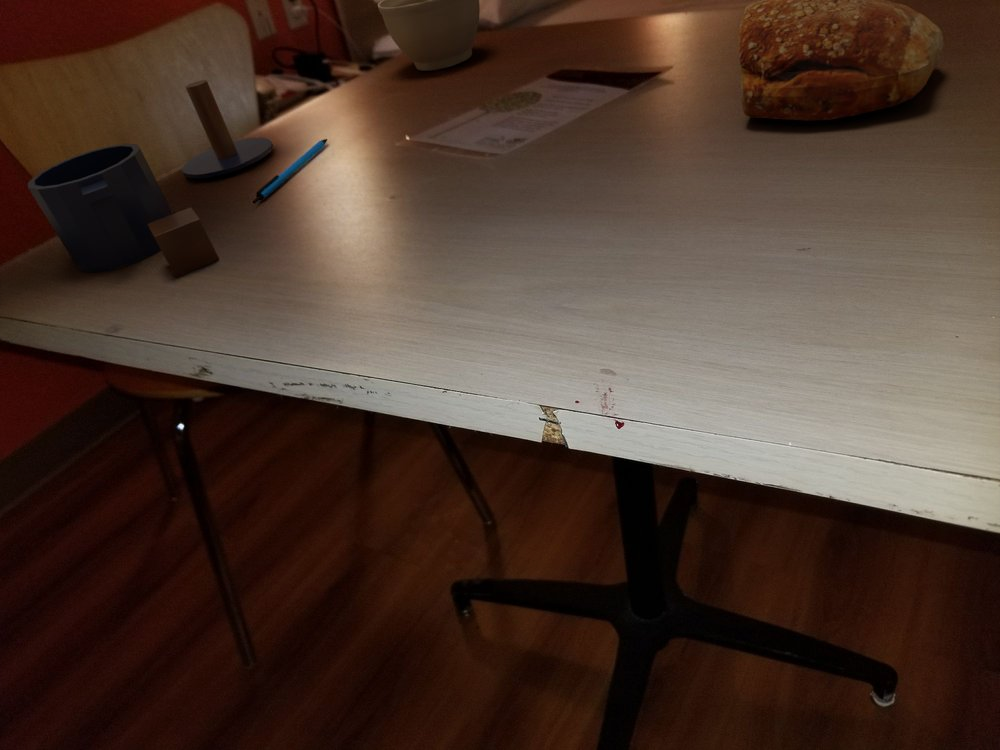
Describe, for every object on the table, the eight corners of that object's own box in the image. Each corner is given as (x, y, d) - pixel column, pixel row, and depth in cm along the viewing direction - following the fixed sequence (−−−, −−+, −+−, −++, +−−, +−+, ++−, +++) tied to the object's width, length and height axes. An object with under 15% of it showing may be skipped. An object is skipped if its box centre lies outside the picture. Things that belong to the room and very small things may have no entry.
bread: (765, 66, 86) (767, -27, 80) (943, 56, 77) (959, -50, 71) (716, 133, 73) (714, 27, 67) (924, 130, 64) (942, 7, 58)
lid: (195, 191, 93) (155, 107, 86) (178, 170, 102) (141, 92, 96) (286, 156, 97) (254, 73, 90) (261, 139, 106) (231, 63, 100)
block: (175, 277, 72) (153, 236, 69) (168, 263, 75) (147, 223, 72) (219, 259, 73) (199, 218, 70) (210, 246, 76) (190, 207, 74)
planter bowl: (394, 64, 127) (376, -4, 121) (483, 41, 127) (469, -28, 121) (399, 86, 114) (378, 12, 108) (498, 60, 114) (483, -16, 108)
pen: (252, 206, 83) (248, 197, 83) (325, 142, 97) (322, 134, 97) (258, 205, 83) (254, 196, 82) (331, 142, 97) (328, 133, 96)
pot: (83, 292, 73) (29, 205, 68) (72, 243, 86) (26, 167, 80) (193, 248, 77) (150, 162, 71) (167, 207, 90) (128, 132, 84)
